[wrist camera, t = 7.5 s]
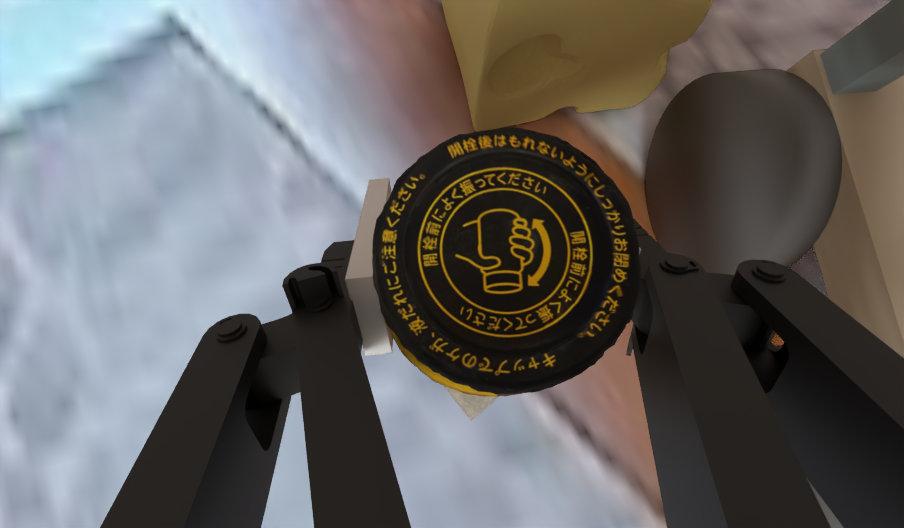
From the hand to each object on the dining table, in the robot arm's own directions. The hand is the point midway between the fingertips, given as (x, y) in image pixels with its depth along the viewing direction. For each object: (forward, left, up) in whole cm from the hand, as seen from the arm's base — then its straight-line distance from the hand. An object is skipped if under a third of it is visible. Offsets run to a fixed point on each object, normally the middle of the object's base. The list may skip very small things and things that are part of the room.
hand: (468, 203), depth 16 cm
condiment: (-1, +4, -4) cm, 5 cm away
